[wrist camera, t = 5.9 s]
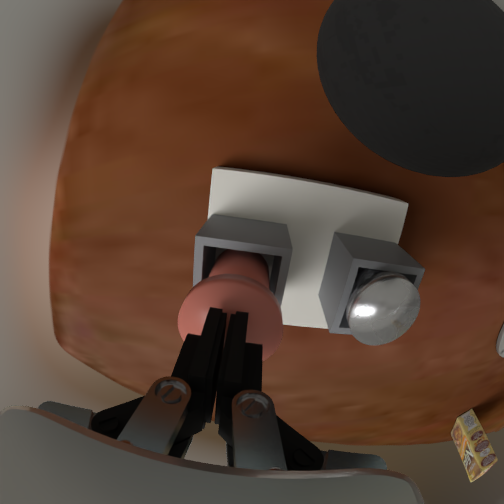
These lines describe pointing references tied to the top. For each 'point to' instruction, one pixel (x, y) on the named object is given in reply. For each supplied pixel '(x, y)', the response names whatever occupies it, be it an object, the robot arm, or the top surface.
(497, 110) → the decorative egg
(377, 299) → the steel plunger
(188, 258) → the top surface
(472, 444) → the candy box
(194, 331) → the red plunger
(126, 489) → the robot arm
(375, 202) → the button panel
